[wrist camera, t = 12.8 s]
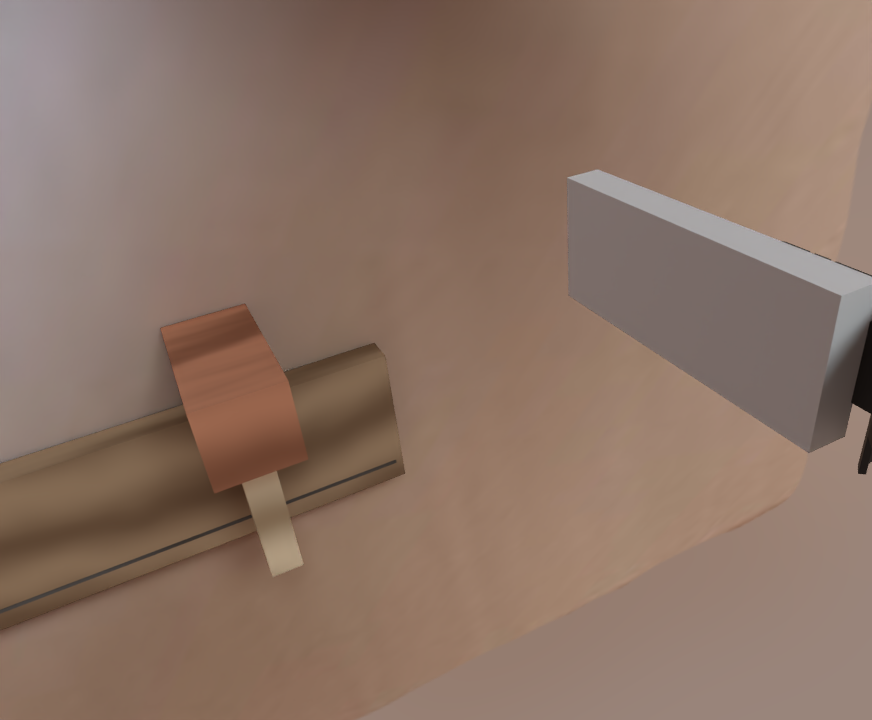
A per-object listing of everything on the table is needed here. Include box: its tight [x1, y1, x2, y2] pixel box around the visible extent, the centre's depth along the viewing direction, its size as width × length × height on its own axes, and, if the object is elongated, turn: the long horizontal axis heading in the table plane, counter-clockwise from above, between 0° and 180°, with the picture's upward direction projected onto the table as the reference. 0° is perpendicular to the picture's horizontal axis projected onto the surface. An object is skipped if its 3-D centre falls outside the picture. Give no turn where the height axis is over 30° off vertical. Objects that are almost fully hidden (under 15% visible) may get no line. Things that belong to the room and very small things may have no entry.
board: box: [0, 343, 405, 630], centre depth 46 cm, size 10×30×2 cm, turn 97°
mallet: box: [160, 304, 308, 577], centre depth 43 cm, size 15×5×10 cm, turn 7°
